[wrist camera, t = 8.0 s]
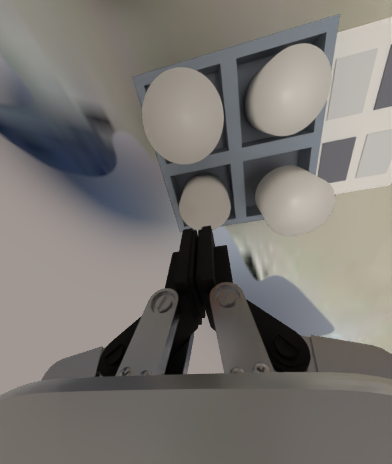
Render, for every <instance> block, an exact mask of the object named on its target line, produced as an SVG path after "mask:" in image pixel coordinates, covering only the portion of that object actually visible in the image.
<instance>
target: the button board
mask: <svg viewBox="0 0 392 464" xmlns="http://www.w3.org/2000/svg"><path fill="white" fill-rule="evenodd" d="M339 18H340V14H338V15H334V16H331V17H328V18H324V19H321V20H318V21H315V22H311V23H308V24H305V25H301V26H298V27H295V28H292V29H288V30H285V31H282V32H278V33H275V34H272V35H269V36H265V37H262V38H259V39H255V40H252V41H249V42H246V43H242V44H239V45H236V46H232V47H229V48H226V49H223V50H219V51H216V52H213V53H210V54H206V55H203V56H200V57H196V58H193V59H190V60H187V61H183V62H180V63H177V64H173V65H170V66H167V67H164V68H160V69H157V70H154V71H150V72H147V73H144V74H141V75H137V76H134V77H133V80H134V84H135V87H136V90H137V93H138V97H139V100H140V103H141V106H143V101H144V98H145V94H146V92H147V90H148V88H149V86H150V85H151V83H152V82H153V81H154V80H155V78H156V77H158V76H159V75H160V74H161V73H163V72H164V71H166V70H169V69H171V68H176V67H186V68H191V69H194V70H196V71H198V72H200V73H202V74H203V75H204V76H206V77H207V78H208V79H209V80H210V81H211V82H212V84H213V85H214V86H215V88H216V90H217V92H218V94H219V96H220V98H221V102H222V106H223V112H224V123H223V130H222V134H221V137H220V139H219V142H218V143H217V145H216V147H215V148H214V150H213V151H212V152H211V153H210V154H209V155H208V156H207V157H205V158H204V159H202V160H201V161H199V162H196V163H193V164H187V165H182V164H176V163H173V162H170V161H168V160H166V159H165V158H163V157H162V156H161V155H159V154H158V153H157V152H156V151H155V152H156V155H157V159H158V162H159V165H160V168H161V171H162V175H163V178H164V181H165V184H166V188H167V191H168V194H169V197H170V201H171V204H172V207H173V211H174V214H175V217H176V220H177V223H178V227H179V230H180V232H183V230H184V229H190V228H191V227H190V226H188V225H187V224H186V223H185V222H184V221H183V219H182V217H181V215H180V211H179V204H180V200H181V196H182V193H183V190H184V187H185V185H186V183H187V182H188V181H189V180H190V179H191V178H192V177H194V176H196V175H198V174H204V173H207V174H212V175H215V176H217V177H218V178H219V179H221V180H222V181H223V183H224V184H225V186H226V189H227V193H228V196H229V200H230V204H231V210H230V214H229V217H228V219H227V220H226V221H225V223H224V224H223V225H221V226H226V225H232V224H239V223H245V222H252V221H258V220H265V219H264V217H263V215H262V214H261V212H260V210H259V208H258V207H257V205H256V201H255V193H256V189H257V187H258V184H259V183H260V181H261V180H262V179H263V177H264V176H265V175H267V174H268V173H269V172H271V171H272V170H274V169H276V168H278V167H281V166H286V165H293V166H298V167H300V168H302V169H304V170H306V171H308V172H310V173H312V174H314V175H316V170H317V163H318V157H319V150H320V143H321V137H322V130H323V124H324V117H325V110H326V104H327V100H326V103H325V105H324V107H323V108H322V110H321V112H320V113H319V114H318V116H317V117H316V118H315V119H314V120H313V121H312V122H311V123H310V124H309V125H308V126H307V127H306V128H304V129H303V130H301V131H299V132H297V133H295V134H292V135H288V136H275V135H271V134H268V133H264V132H260V131H258V130H256V129H255V128H254V127H253V126H252V125H251V124H250V123H249V121H248V119H247V116H246V112H245V97H246V92H247V89H248V87H249V84H250V82H251V81H252V79H253V77H254V76H255V75H256V73H257V72H258V71H259V70H260V69H261V68H262V67H263V66H265V65H266V64H267V63H268V62H269V61H270V60H271V59H272V58H274V57H275V56H276V55H277V54H278V53H280V52H281V51H282V50H284V49H286V48H288V47H290V46H292V45H295V44H301V43H307V44H312V45H314V46H317V47H318V48H320V49H321V50H322V51H323V52H324V53H325V55H326V56H327V58H328V60H329V63H330V66H331V71H332V64H333V58H334V51H335V44H336V38H337V31H338V24H339ZM192 229H193V228H192ZM193 230H196V229H193Z"/></svg>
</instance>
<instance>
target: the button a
mask: <svg viewBox="0 0 392 464" xmlns="http://www.w3.org/2000/svg"><path fill="white" fill-rule="evenodd" d="M142 121H143V127H144V131H145V133H146V136H147V138H148V140H149V142H150V144H151V145H152V147H153V148H154V149H155V151H156V152H157V153H158V154H159V155H161V156H162V157H163V158H165V159H166V160H168V161H170V162H173V163H176V164H182V165H187V164H193V163H196V162H199V161H201V160H202V159H204V158H205V157H207V156H208V155H209V154H210V153H211V152H212V151H213V150H214V148H215V147H216V145H217V143H218V142H219V139H220V137H221V134H222V130H223V123H224V112H223V106H222V102H221V98H220V96H219V94H218V92H217V90H216V88H215V86H214V85H213V84H212V82H211V81H210V80H209V79H208V78H207V77H206V76H204V75H203V74H202V73H200V72H198V71H196V70H194V69H191V68H186V67H176V68H171V69H169V70H166V71H164V72H163V73H161V74H160V75H159V76H158V77H156V78H155V80H154V81H153V82H152V83H151V85H150V86H149V88H148V90H147V92H146V94H145V98H144V101H143V106H142Z"/></svg>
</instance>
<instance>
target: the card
mask: <svg viewBox="0 0 392 464" xmlns="http://www.w3.org/2000/svg"><path fill="white" fill-rule="evenodd" d="M331 73H332V80H331V87H330V92H329V95H328V98H327V104H326V110H325V117H324V124H323V130H322V137H321V143H320V150H319V157H318V163H317V170H316V176H318V177H320V178H321V179H323V180H325V181H327V182H328V183H329V184H330V185H331V186H332V188H333V190H334V193H335V194H340V193H346V192H352V191H358V190H365V189H371V188H377V187H383V186H389V185H391V182H392V17H390V18H386V19H383V20H379V21H376V22H372V23H369V24H366V25H362V26H359V27H355V28H352V29H348V30H345V31H341V32H338V33H337V38H336V44H335V51H334V58H333V64H332V71H331Z"/></svg>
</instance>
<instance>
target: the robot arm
mask: <svg viewBox="0 0 392 464" xmlns="http://www.w3.org/2000/svg"><path fill="white" fill-rule="evenodd" d="M205 310H206V313H207V316H208V319H209V323H210V326H211V327H212V328H213V329H214V330H215V331H216V333H217V339H218V343H219V349H220V354H221V359H222V364H223V368H224V373H221V374H187V371H188V366H189V360H190V355H191V350H192V344H193V339H194V331H195V330H196V329H197V328H198V325H201V324H202V318H205ZM0 464H392V354H391V353H389V352H387V351H385V350H384V349H382V348H379V347H376V346H373V345H367V344H362V343H356V342H350V341H344V340H338V339H332V338H326V337H320V336H314V335H311V336H310V337H306V336H301V335H299V334H297V333H296V332H295V331H294V330H292V329H291V328H289V327H288V326H286V325H285V324H283V323H282V322H280V321H279V320H277V319H275V318H274V317H272V316H271V315H269V314H268V313H266V312H265V311H263V310H262V309H260V308H259V307H257V306H256V305H254V304H253V303H251V302H250V301H248V300H246V298H245V296H244V294H243V291H242V290H241V288H240V287H239V286H238V285H236V284H234V283H233V281H232V275H231V269H230V262H229V256H228V250H227V245H224V246H217V247H215V244H214V239H213V233H212V228H211V225H210V226H203V227H202V229H200V230H199V231H198V235H197V231H196V230H193V229H192V228H190V229H184V230H183V234H182V239H181V244H180V250H179V252H174V253H173V255H172V258H171V263H170V267H169V272H168V276H167V281H166V286H165V289H161V290H159V291H157V292H156V293H154V294H153V295H152V296H151V298H150V299H149V301H148V304H147V306H146V308H145V310H144V313H143V315H142V316H141V317H140V318H139V319H138V320H136V321H135V322H134V323H133V324H132V325H131V326H129V327H128V328H127V329H126V330H125V331H124V332H122V333H121V334H120V335H119V336H118V337H117V338H115V339H114V340H113V341H112V342H111V343H110V344H109V345H108V346H107V347H106V348H103V347H99V348H95V349H92V350H89V351H86V352H83V353H80V354H77V355H73V356H70V357H67V358H64V359H62V360H60V361H58V362H56V363H55V364H54V365H52V366H51V367H50V368H49V370H48V371H47V372H46V373H45V375H44V377H43V378H42V380H41V381H38V382H33V383H29V384H26V385H23V386H20V387H17V388H15V389H13V390H11V391H8V392H7V393H4V394H2V395H0Z"/></svg>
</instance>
